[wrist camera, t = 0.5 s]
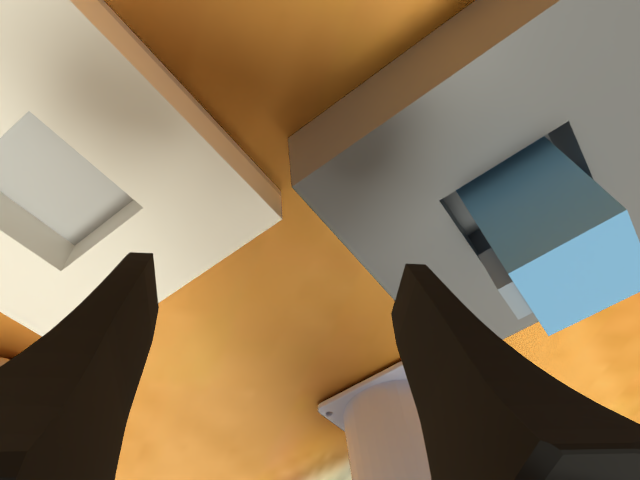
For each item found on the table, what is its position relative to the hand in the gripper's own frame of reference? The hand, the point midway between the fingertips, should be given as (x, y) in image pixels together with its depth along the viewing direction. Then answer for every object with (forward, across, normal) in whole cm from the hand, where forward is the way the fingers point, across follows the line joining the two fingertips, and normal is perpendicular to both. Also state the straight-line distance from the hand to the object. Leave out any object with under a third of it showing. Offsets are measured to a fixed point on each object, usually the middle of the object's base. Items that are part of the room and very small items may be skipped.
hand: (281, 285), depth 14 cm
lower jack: (+10, +10, +2) cm, 14 cm away
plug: (+9, -10, 0) cm, 14 cm away
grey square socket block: (+10, -10, 0) cm, 15 cm away
